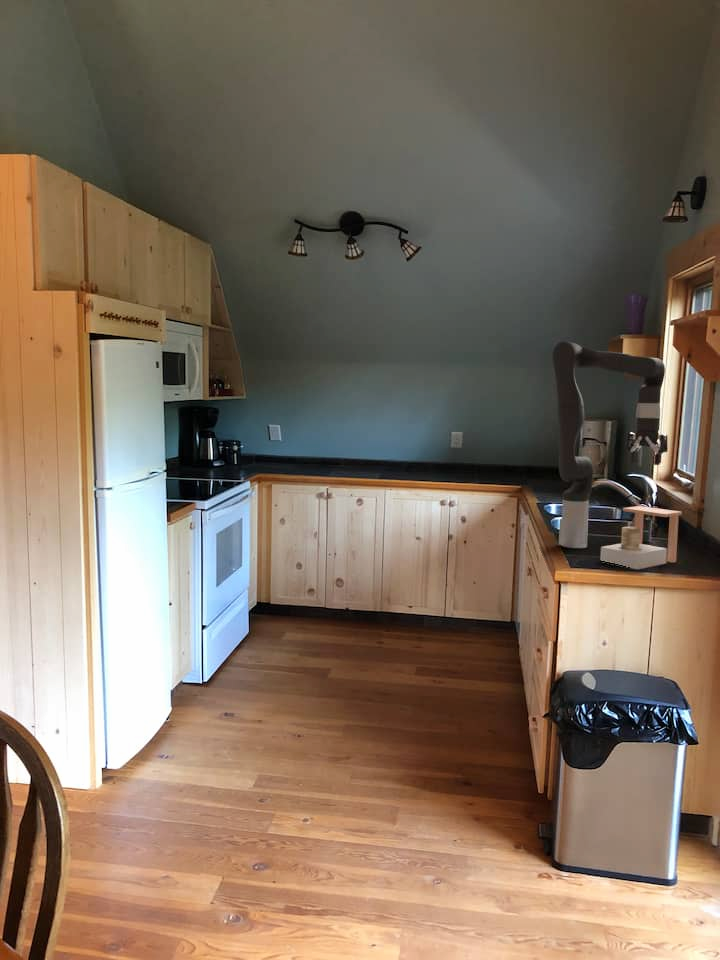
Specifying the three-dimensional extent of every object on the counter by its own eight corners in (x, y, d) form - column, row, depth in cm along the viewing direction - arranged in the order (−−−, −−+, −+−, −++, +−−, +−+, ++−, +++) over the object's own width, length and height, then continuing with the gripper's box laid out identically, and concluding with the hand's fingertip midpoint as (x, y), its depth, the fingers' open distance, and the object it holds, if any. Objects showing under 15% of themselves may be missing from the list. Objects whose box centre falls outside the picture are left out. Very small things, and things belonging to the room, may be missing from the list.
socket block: (600, 561, 246) (600, 546, 245) (629, 556, 255) (629, 541, 255) (637, 569, 235) (638, 554, 234) (666, 563, 244) (666, 548, 243)
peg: (620, 562, 244) (621, 527, 243) (627, 561, 246) (629, 526, 245) (630, 565, 241) (632, 529, 240) (638, 563, 243) (639, 527, 242)
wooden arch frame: (620, 556, 254) (622, 508, 252) (636, 553, 259) (639, 505, 258) (662, 565, 241) (665, 514, 239) (679, 561, 246) (681, 511, 245)
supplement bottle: (644, 543, 278) (645, 512, 277) (628, 540, 283) (629, 510, 282) (654, 541, 282) (656, 510, 281) (638, 539, 287) (640, 508, 286)
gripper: (623, 416, 254) (621, 462, 256) (660, 417, 243) (658, 466, 244) (636, 416, 259) (634, 462, 260) (673, 417, 247) (671, 465, 249)
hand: (645, 463), depth 252 cm, fingers open, 8 cm apart
